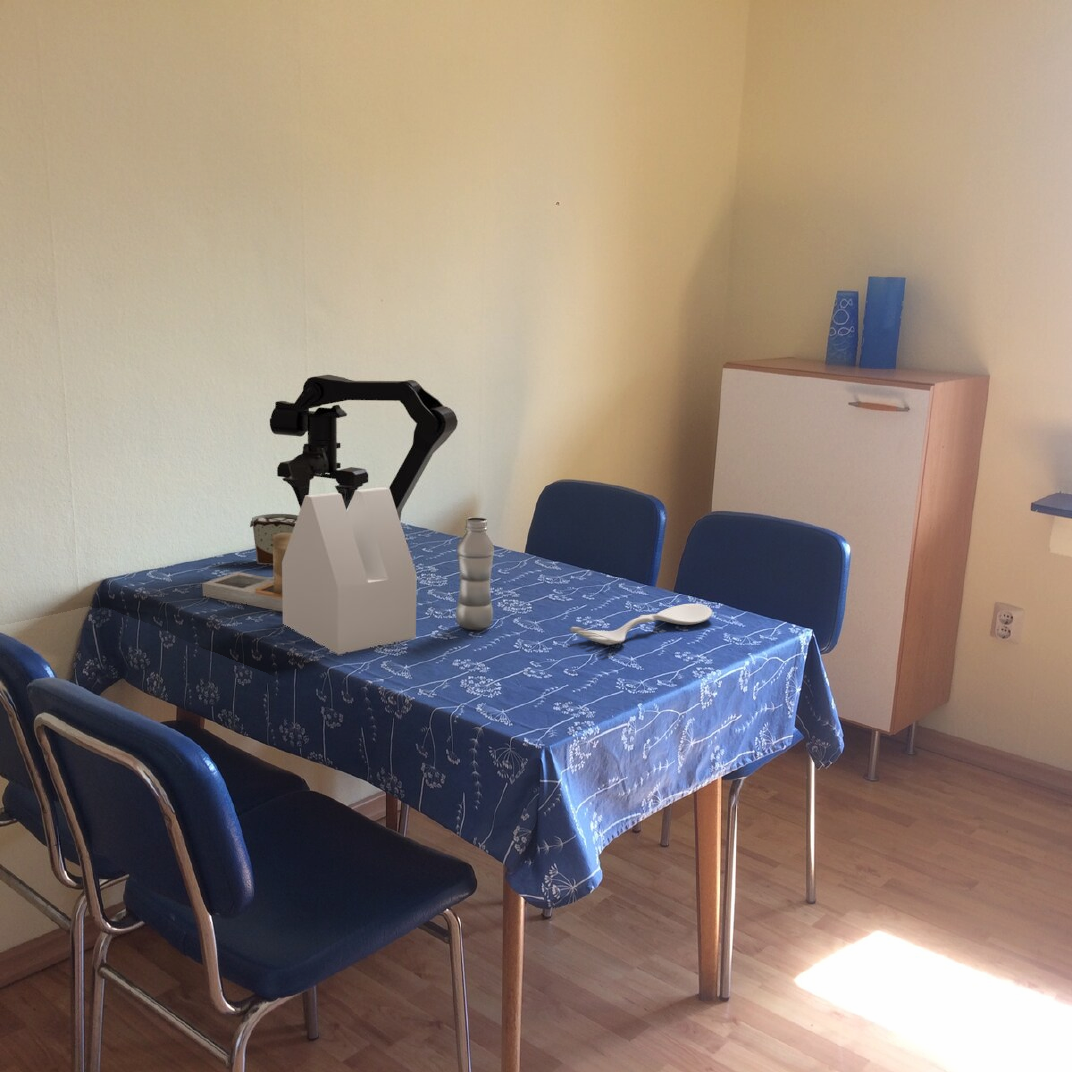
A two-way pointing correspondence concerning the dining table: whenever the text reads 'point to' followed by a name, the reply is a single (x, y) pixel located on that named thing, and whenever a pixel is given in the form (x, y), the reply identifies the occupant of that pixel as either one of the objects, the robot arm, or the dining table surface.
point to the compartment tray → (245, 590)
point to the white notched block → (349, 573)
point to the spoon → (675, 615)
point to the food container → (270, 533)
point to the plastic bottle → (475, 576)
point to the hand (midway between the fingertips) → (322, 514)
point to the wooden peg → (279, 558)
